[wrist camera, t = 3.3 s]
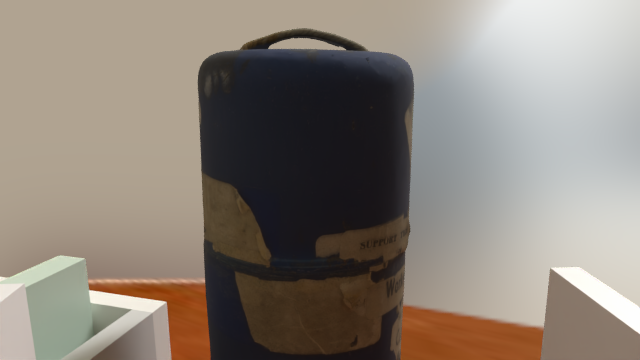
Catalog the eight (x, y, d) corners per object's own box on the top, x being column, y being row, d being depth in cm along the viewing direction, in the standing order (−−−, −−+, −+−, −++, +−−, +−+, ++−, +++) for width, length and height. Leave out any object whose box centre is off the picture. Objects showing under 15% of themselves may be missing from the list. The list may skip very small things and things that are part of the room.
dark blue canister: (414, 471, 20) (446, 15, 16) (185, 468, 20) (163, 10, 16) (383, 345, 29) (399, 39, 25) (228, 342, 29) (221, 35, 25)
